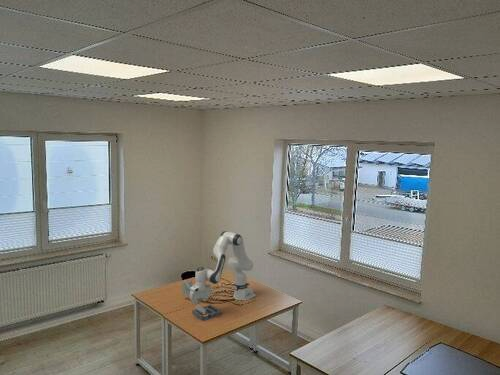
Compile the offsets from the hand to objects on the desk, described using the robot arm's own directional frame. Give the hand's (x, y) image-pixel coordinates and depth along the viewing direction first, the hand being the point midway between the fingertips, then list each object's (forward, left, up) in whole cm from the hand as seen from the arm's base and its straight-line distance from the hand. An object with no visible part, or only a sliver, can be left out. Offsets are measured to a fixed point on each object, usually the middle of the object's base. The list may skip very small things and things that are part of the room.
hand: (200, 302), depth 332 cm
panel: (0, 0, -12) cm, 12 cm away
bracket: (-11, -29, -13) cm, 34 cm away
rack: (-6, 0, -13) cm, 14 cm away
